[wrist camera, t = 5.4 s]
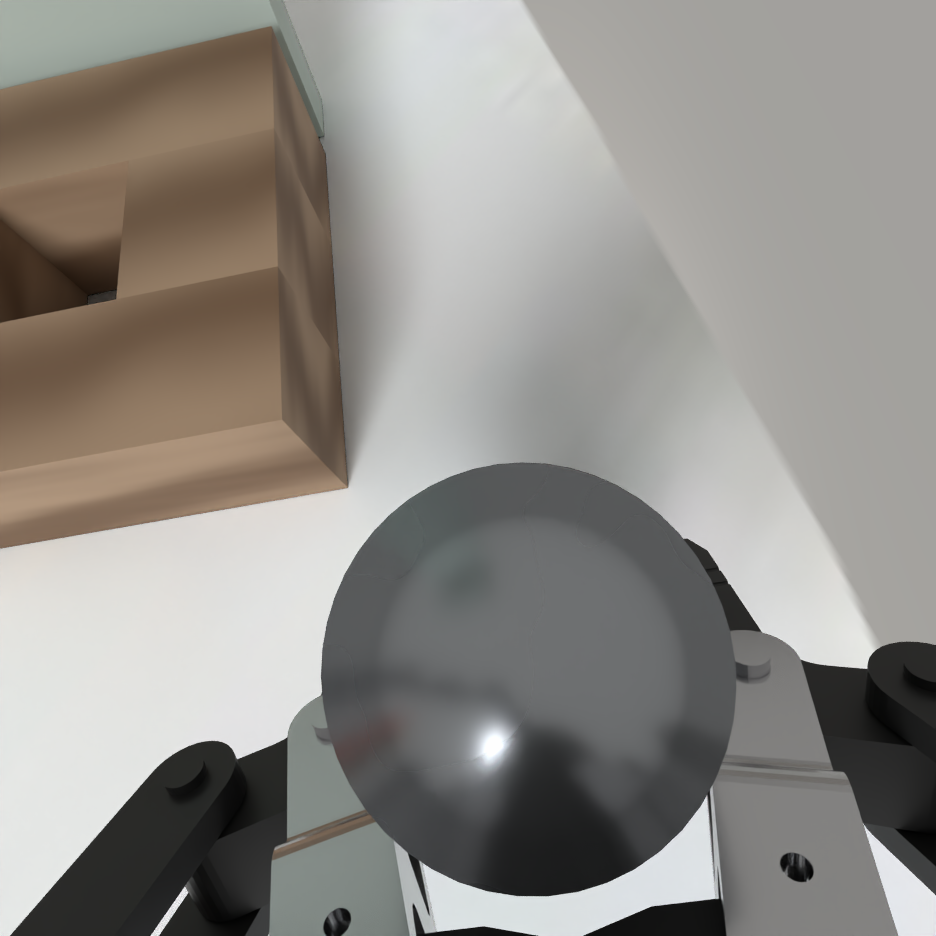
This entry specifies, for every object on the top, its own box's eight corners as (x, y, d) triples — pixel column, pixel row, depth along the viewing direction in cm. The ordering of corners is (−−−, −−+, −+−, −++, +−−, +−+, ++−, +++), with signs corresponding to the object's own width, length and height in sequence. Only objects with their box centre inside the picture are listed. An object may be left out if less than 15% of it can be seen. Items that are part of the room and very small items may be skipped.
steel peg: (544, 795, 16) (515, 1016, 5) (449, 684, 17) (245, 646, 6) (643, 692, 16) (831, 664, 5) (544, 591, 18) (522, 394, 6)
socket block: (347, 487, 19) (282, 419, 15) (-68, 560, 20) (-251, 518, 16) (325, 154, 25) (271, 26, 20) (-6, 225, 26) (-131, 119, 21)
